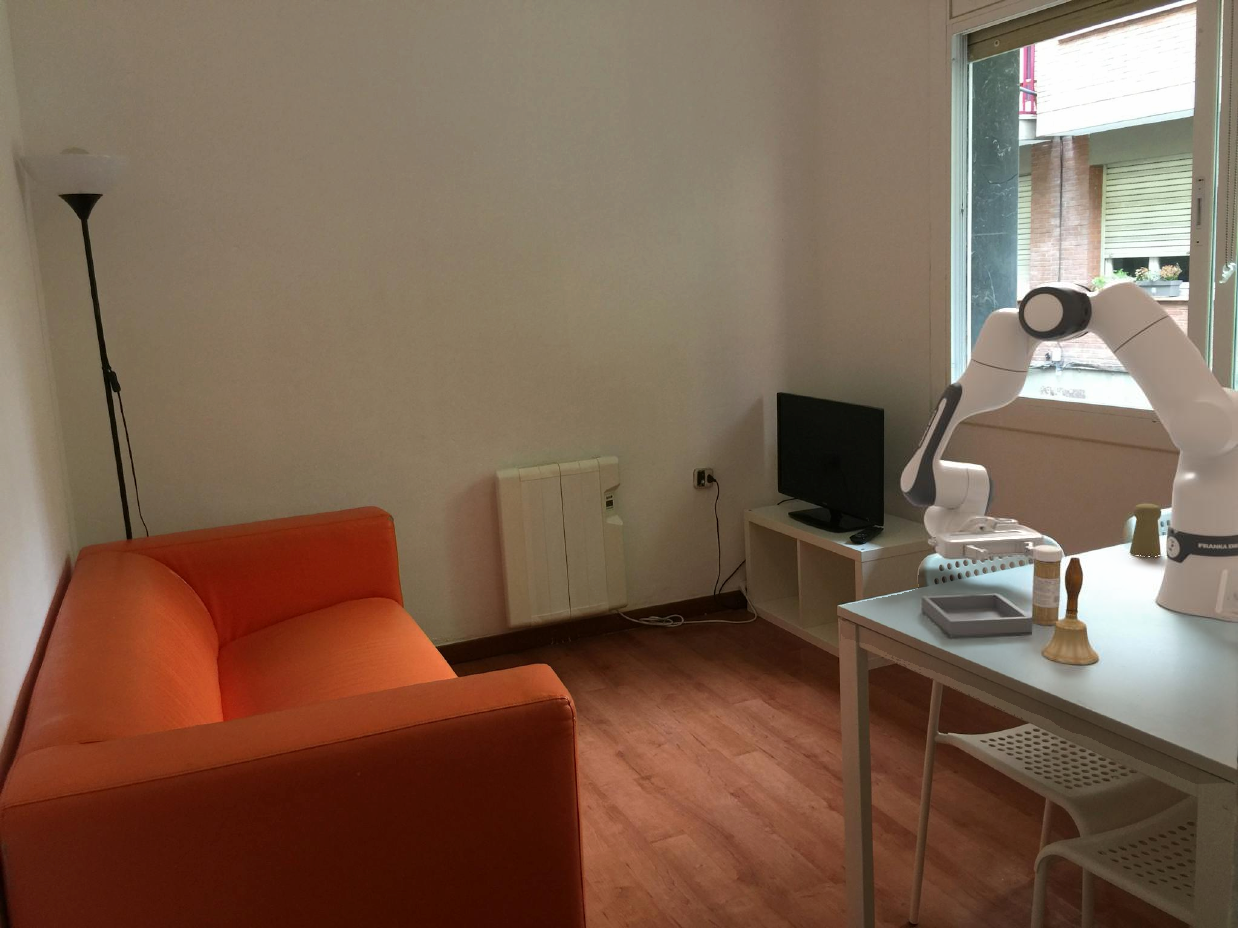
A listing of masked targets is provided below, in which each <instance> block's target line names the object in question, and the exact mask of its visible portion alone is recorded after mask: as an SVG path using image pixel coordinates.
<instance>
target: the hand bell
mask: <svg viewBox="0 0 1238 928" xmlns="http://www.w3.org/2000/svg"><path fill="white" fill-rule="evenodd" d="M1083 581H1084V573H1083V568H1082V565H1081V561H1080V558H1079V557H1070V560H1069V562H1068V565H1067V567H1066V569H1065V573H1064V586H1065V591H1066V596H1067V597H1066V609H1065V617H1064V618H1062V619H1059V620H1058V621H1057V622H1056V625H1054V632H1053V635H1052V637H1051V639H1050V641H1049V642H1048V644H1046V645H1045V646H1044V647H1043V648H1042V649H1041V655H1042V656H1043V657H1044V658H1046V659H1048V660H1051V661H1053V662H1057V663H1060V664H1066V665H1078V666H1079V665H1080V666H1081V665H1083V666H1084V665H1090V664H1091V665H1092V664H1094V663H1096V662H1098V661H1099V659H1100V656H1099V654H1098V653H1097V652H1096V651H1095V650H1094V648H1093V647H1092V646H1091V644H1090V640H1089V635H1088V629H1087V627H1088V626H1087V624H1086V623H1085V622H1084V621H1081V620H1079V618H1078V613H1079V612H1078V611H1079V610H1078V608H1079V607H1078V605H1079V601H1078V600H1079V595H1080V593H1081V592H1082V591H1081V590H1082V587H1083Z"/></svg>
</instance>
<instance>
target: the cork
mask: <svg viewBox="0 0 1238 928" xmlns="http://www.w3.org/2000/svg"><path fill="white" fill-rule="evenodd" d="M1133 515H1134V518H1135V519H1136V520H1135V523H1134V524H1135V525H1134V530H1133V535H1132V539H1131V544H1130V549H1129V554H1130V553H1131V554H1134V555H1139V556H1140V555H1141V556H1145V557H1144V558H1146V557H1148V556H1150V557H1155V556H1158V555H1161V556H1162V554H1161V553H1162V552H1161V542H1160V541H1161V540H1160V530H1159V520H1160V519H1161V516H1162V509H1161V507H1160V506H1159V505H1157V504H1155V503H1154V504H1153V503H1139V504H1137V505H1136V506H1135V507H1134V510H1133ZM1131 554H1130V555H1131ZM1134 555H1133V556H1134ZM1155 558H1156V557H1155Z"/></svg>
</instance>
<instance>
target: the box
mask: <svg viewBox="0 0 1238 928" xmlns="http://www.w3.org/2000/svg"><path fill="white" fill-rule="evenodd" d="M921 613H922V614H923V615H924V616H925V617H926V618H927V619H928V618H929V619H930V620H929V619H928V620H929V621H931V622H932V623H933V624H934V625H935V626H936V627H937V629H939V630H940V631H941V632H942V633H943V634H945V635H946V636H947V638H948V639H950V640H952V639H953V640H954V639H974V638H993V637H995V638H996V637H998V638H999V637H1016V636H1019V637H1020V636H1033V627H1034V626H1033V623H1034V622H1033V618H1032V615H1031V616H1030V615H1029V614H1028V613H1026V612H1025V611H1024V610H1022V609H1021V608H1020V607H1018V606H1017V605H1015V604H1014V603H1012V602H1011V601H1010V600H1009V599H1007V598H1005V597H1004V596H1002V595H1001V594H999V593H997V592H996V593H977V594H976V593H975V594H955V595H953V594H951V595H937V596H936V595H934V596H933V595H931V596H922V597H921Z"/></svg>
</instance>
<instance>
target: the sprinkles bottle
mask: <svg viewBox="0 0 1238 928" xmlns="http://www.w3.org/2000/svg"><path fill="white" fill-rule="evenodd" d="M1032 559H1033V572H1032V573H1033V574H1032V575H1033V576H1032V578H1033V579H1032V593H1031V606H1032V607H1031V617H1032V618H1033V623H1034V624H1037V625H1041V626H1055V625H1056V622H1057V621H1058V620H1060V619H1059V615H1060V614H1059V609H1060V608H1059V607H1060V601H1061V599H1060V598H1061V597H1060V595H1061V565H1062V564H1061V563H1062V560H1063V549H1062V548H1061V547H1059V546H1056V545H1047V544H1046V545H1045V544H1044V545H1040V546H1036V547H1034V549H1033V557H1032Z"/></svg>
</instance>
